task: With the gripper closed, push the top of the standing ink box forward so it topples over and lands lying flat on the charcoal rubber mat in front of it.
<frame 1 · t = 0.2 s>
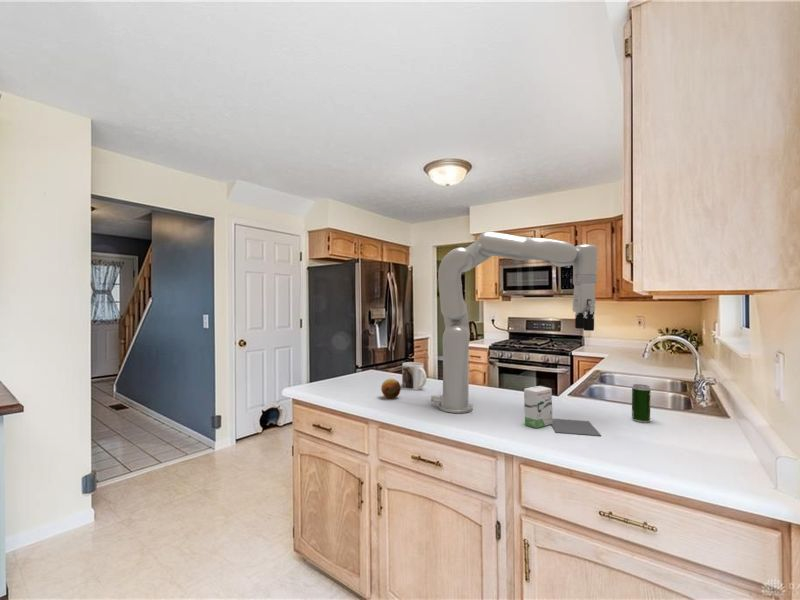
hand: (584, 329, 135), 31 cm above the worktop, fingers open, 9 cm apart
mug: (413, 388, 177), on the worktop
beer can: (640, 421, 132), on the worktop
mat: (572, 427, 125), on the worktop
ink box: (538, 424, 127), on the worktop, touching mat
fruit: (390, 398, 159), on the worktop
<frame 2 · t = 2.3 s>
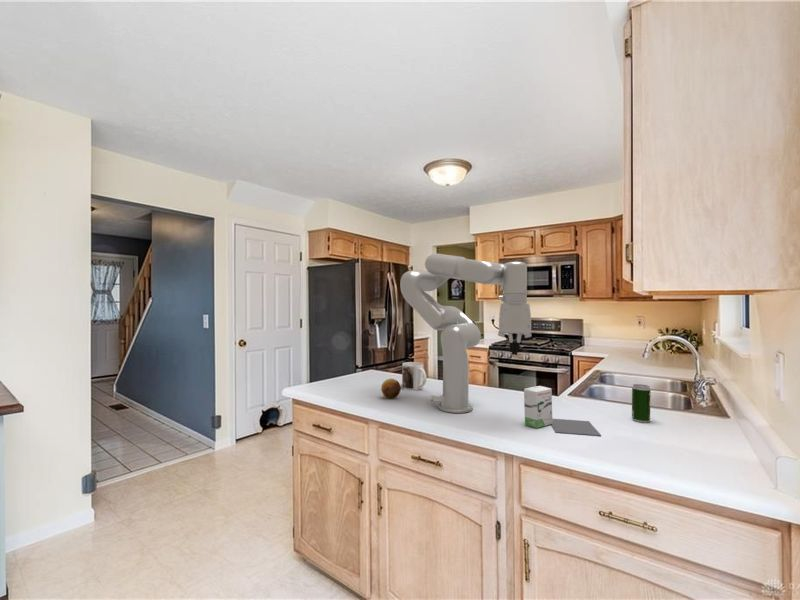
hand: (514, 354, 129), 23 cm above the worktop, fingers closed
nothing on the worktop moved.
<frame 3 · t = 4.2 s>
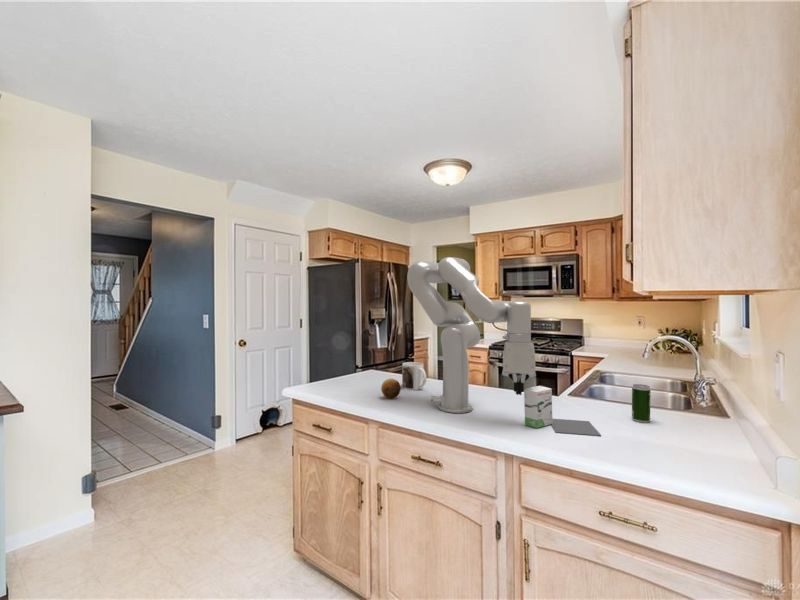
hand: (518, 393, 128), 10 cm above the worktop, fingers closed
ink box: (538, 424, 127), on the worktop, touching gripper, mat
everything else where it was.
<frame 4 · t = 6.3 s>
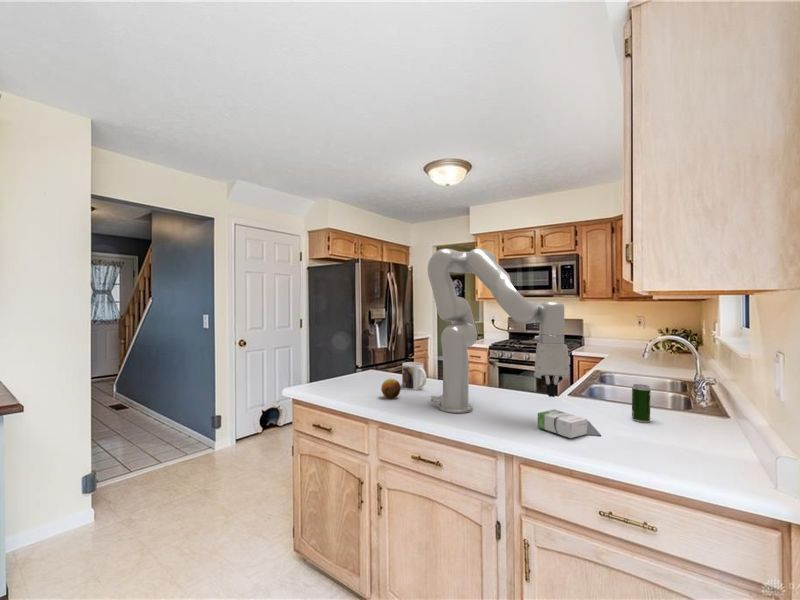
hand: (551, 395, 126), 10 cm above the worktop, fingers closed
ink box: (545, 417, 125), point 3 cm above the worktop, touching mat
everything else where it was.
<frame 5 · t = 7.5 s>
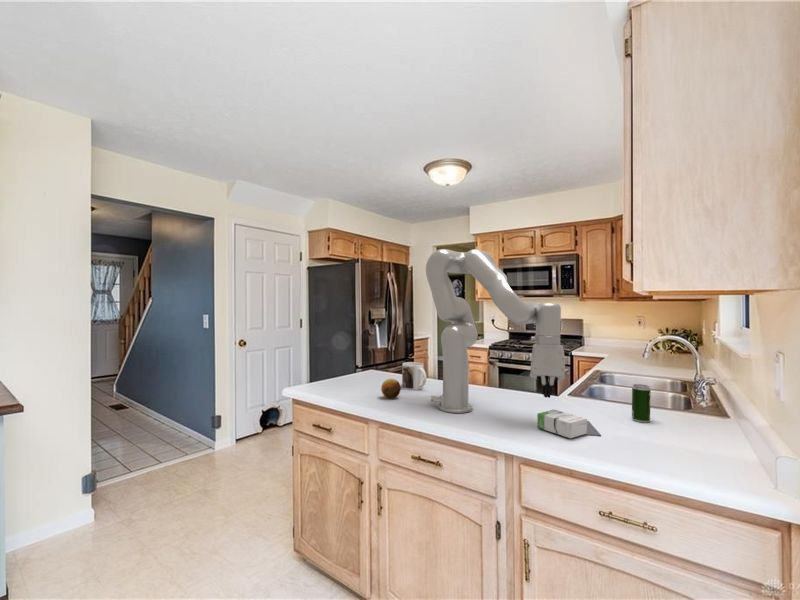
hand: (546, 396, 127), 9 cm above the worktop, fingers closed
nothing on the worktop moved.
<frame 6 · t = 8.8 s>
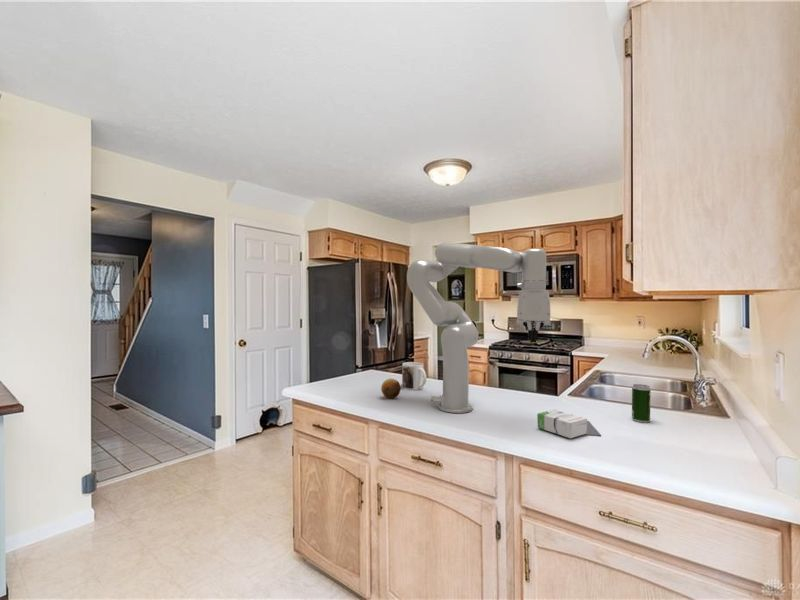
hand: (532, 342, 128), 27 cm above the worktop, fingers closed
nothing on the worktop moved.
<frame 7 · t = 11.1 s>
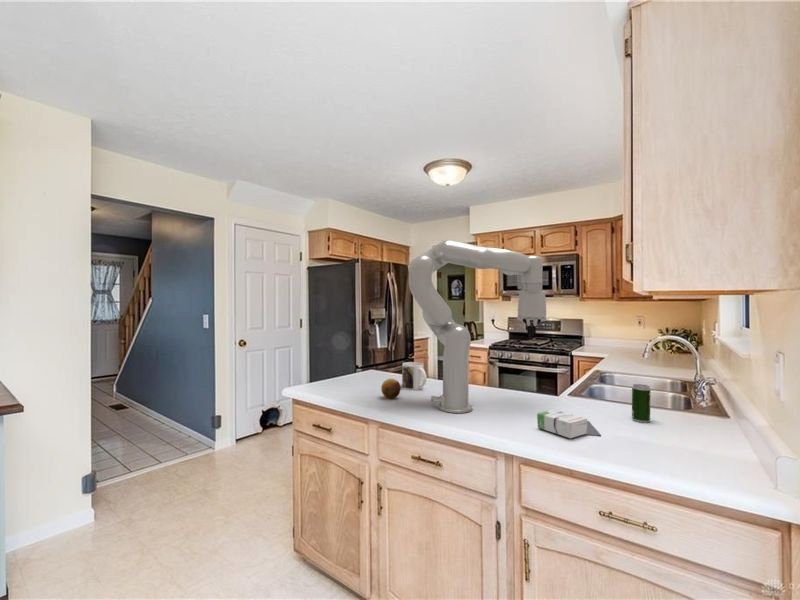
hand: (531, 336, 148), 27 cm above the worktop, fingers closed
nothing on the worktop moved.
at the end: ink box tilted 90°; ink box inside the target area (7.4 cm from its centre), point 2.8 cm above the worktop; the gripper is holding nothing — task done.
